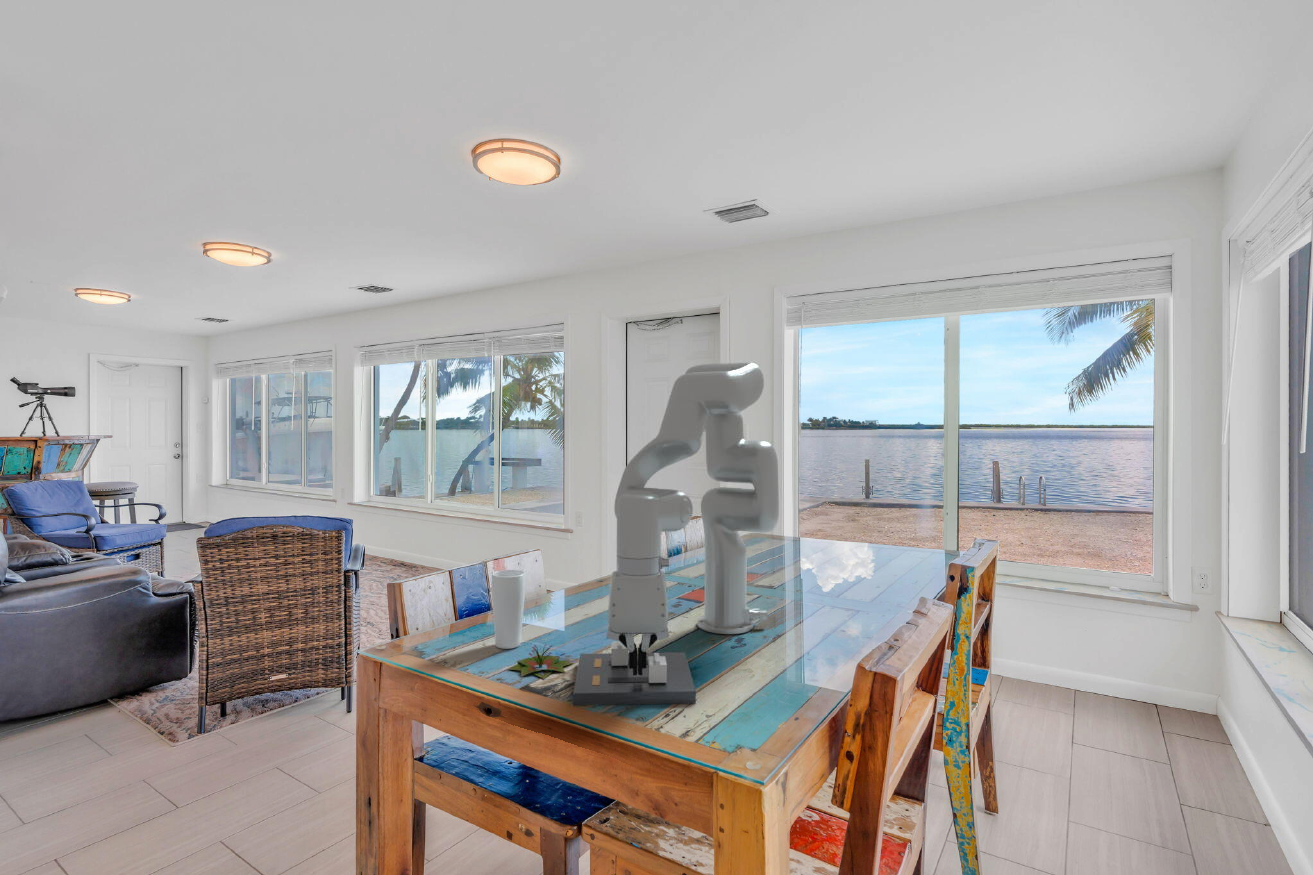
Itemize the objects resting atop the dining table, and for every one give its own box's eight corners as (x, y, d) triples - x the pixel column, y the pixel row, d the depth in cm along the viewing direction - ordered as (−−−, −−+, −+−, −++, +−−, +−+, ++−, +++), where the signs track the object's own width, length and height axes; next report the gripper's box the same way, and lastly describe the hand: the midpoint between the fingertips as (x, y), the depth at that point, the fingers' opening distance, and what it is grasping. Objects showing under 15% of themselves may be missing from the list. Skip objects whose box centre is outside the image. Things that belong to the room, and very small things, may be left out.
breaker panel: (684, 662, 122) (684, 651, 122) (695, 703, 104) (695, 690, 104) (580, 664, 121) (580, 653, 121) (573, 705, 103) (573, 692, 103)
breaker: (627, 657, 119) (627, 638, 119) (627, 665, 115) (628, 645, 115) (611, 657, 118) (611, 638, 118) (611, 665, 115) (611, 645, 114)
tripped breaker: (665, 673, 111) (665, 652, 111) (666, 682, 107) (666, 661, 107) (647, 673, 111) (648, 653, 111) (648, 682, 107) (649, 661, 107)
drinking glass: (531, 642, 133) (531, 571, 133) (511, 653, 127) (511, 578, 127) (505, 638, 136) (505, 568, 136) (484, 648, 130) (484, 574, 129)
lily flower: (537, 653, 128) (537, 631, 128) (585, 665, 122) (585, 641, 122) (494, 674, 117) (494, 649, 117) (545, 687, 112) (545, 661, 111)
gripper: (680, 561, 113) (679, 664, 113) (595, 561, 112) (594, 664, 112) (684, 570, 105) (683, 680, 105) (593, 570, 104) (592, 681, 105)
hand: (637, 672), depth 109 cm, fingers closed
